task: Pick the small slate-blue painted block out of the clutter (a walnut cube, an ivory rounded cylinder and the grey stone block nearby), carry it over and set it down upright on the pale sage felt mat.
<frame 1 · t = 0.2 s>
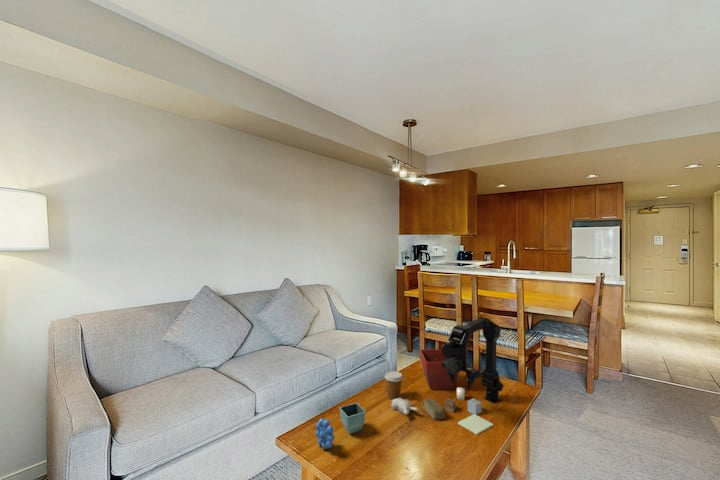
hand: (460, 386, 154), 14 cm above the table, fingers open, 9 cm apart
grapes: (326, 447, 130), on the table
plant pot: (439, 385, 186), on the table
felt mat: (475, 424, 147), on the table
flower pot: (352, 430, 142), on the table
stone block: (433, 414, 155), on the table
disposable coffee cup: (393, 397, 171), on the table
slate-blue block: (474, 411, 157), on the table
ivory rounded cylinder: (460, 398, 170), on the table
walnut cube: (450, 409, 159), on the table
bunny figurine: (403, 411, 158), on the table
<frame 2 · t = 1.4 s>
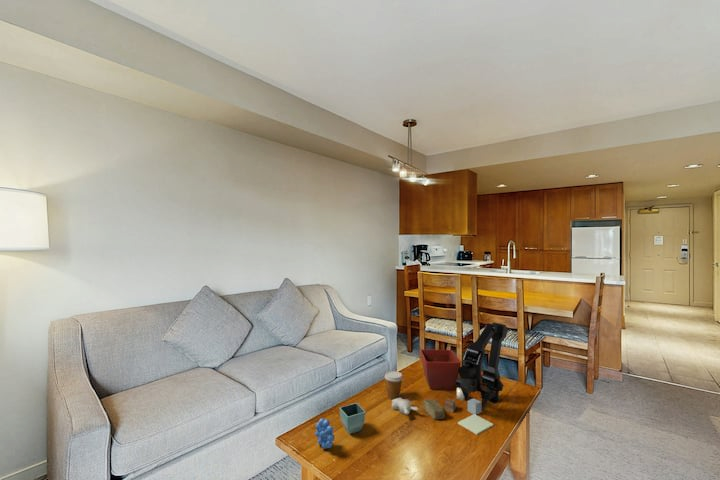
hand: (474, 405, 157), 3 cm above the table, fingers open, 9 cm apart
nothing on the table moved.
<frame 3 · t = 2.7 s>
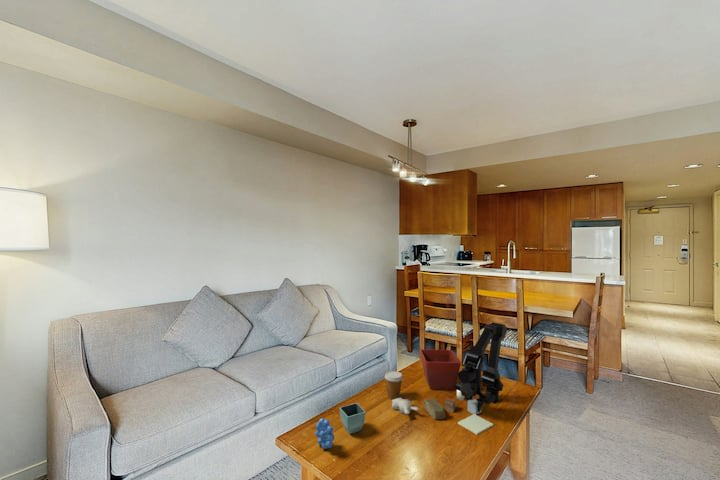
hand: (474, 409, 157), 1 cm above the table, fingers closed on slate-blue block, 4 cm apart
slate-blue block: (474, 411, 157), on the table, touching gripper
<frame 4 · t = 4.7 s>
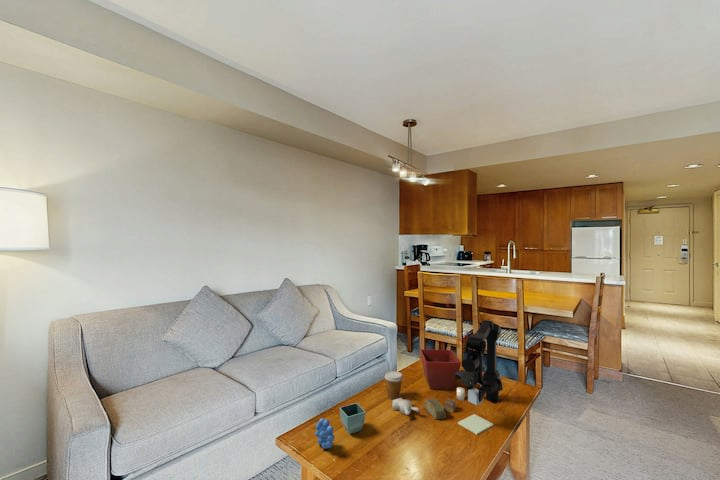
hand: (475, 399, 147), 11 cm above the table, fingers closed on slate-blue block, 4 cm apart
slate-blue block: (475, 401, 147), point 10 cm above the table, touching gripper
when the fingers open (3 cm above the table, at t = 6.6 s): slate-blue block stays where it is, resting on felt mat.
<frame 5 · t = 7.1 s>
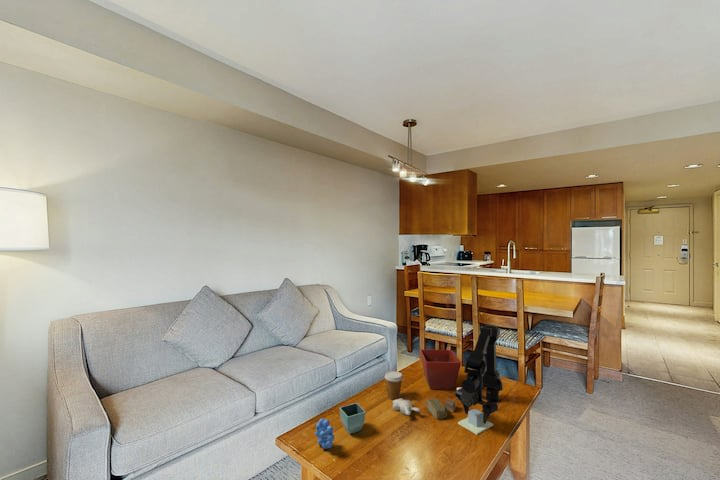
hand: (475, 418, 147), 3 cm above the table, fingers open, 9 cm apart
slate-blue block: (475, 423, 147), point 1 cm above the table, touching felt mat
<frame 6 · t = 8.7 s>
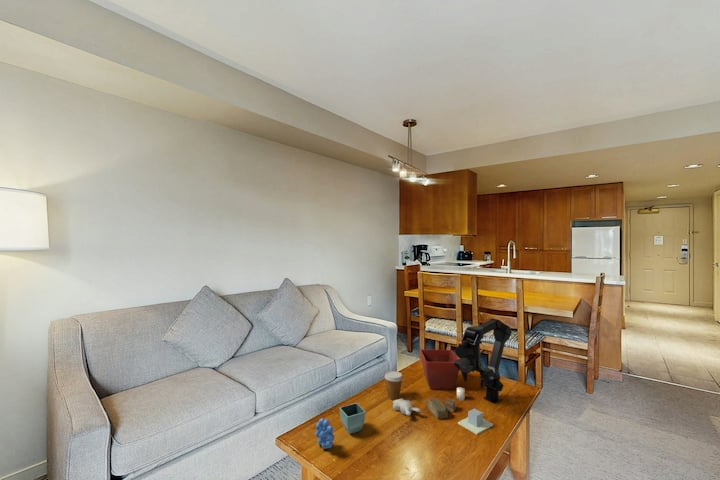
hand: (473, 385, 160), 12 cm above the table, fingers open, 9 cm apart
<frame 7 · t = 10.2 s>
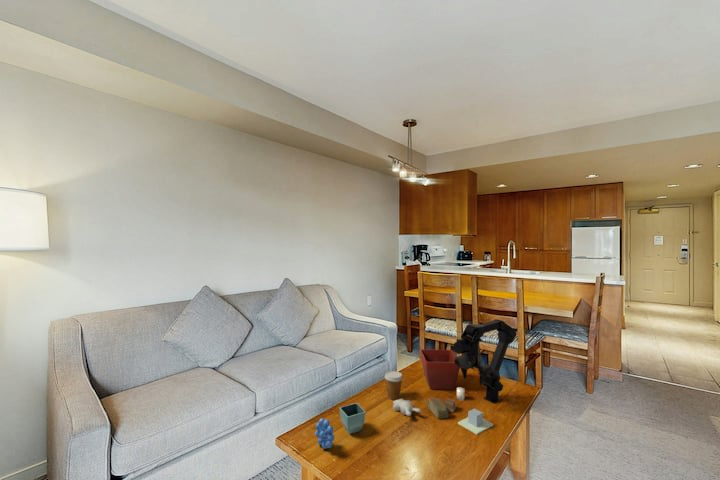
hand: (472, 381, 163), 12 cm above the table, fingers open, 9 cm apart
at the end: slate-blue block inside the target area on the felt mat (0.0 cm from its centre), point 0.6 cm above the felt mat's base; slate-blue block tilted 0°; the gripper is holding nothing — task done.
